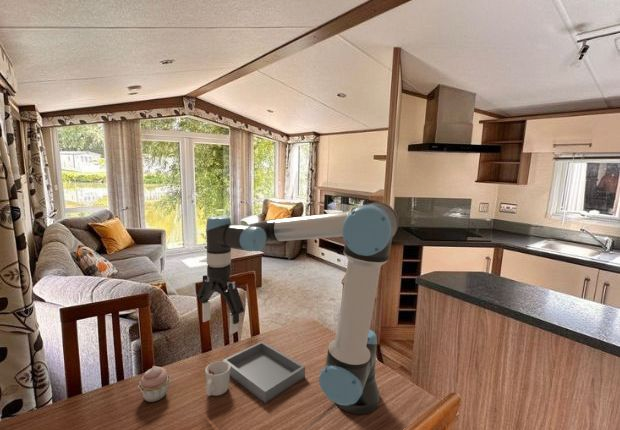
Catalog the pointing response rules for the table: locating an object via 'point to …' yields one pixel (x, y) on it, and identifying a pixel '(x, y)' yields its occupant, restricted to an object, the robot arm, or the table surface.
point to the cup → (217, 378)
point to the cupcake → (154, 384)
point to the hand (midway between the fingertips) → (219, 326)
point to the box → (265, 371)
